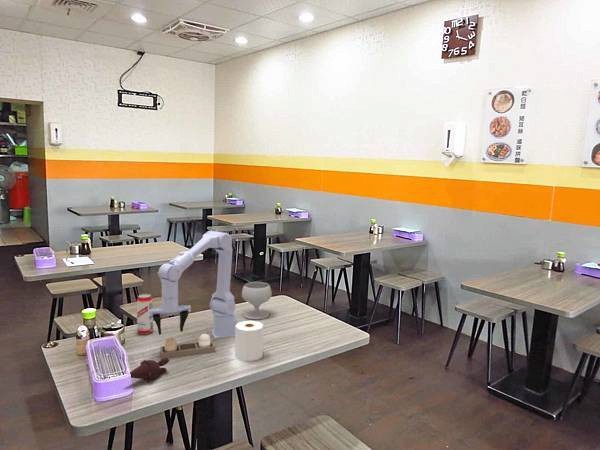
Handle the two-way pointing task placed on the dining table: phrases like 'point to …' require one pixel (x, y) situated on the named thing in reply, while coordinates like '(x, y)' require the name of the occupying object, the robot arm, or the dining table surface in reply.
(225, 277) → the robot arm
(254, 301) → the chalice
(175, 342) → the tan egg
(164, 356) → the egg carton
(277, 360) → the dining table surface
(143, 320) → the beer can
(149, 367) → the brown plush toy
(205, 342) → the cream egg
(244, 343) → the toilet paper
